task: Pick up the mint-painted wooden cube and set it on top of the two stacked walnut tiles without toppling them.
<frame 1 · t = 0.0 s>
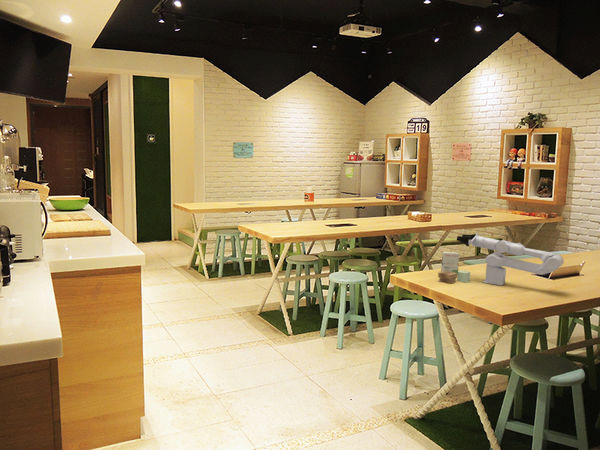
hand: (459, 237, 274), 22 cm above the table, tool horizontal, fingers open, 7 cm apart
bottom tile: (447, 282, 266), on the table, touching top tile
ink box: (449, 273, 285), on the table
top tile: (447, 277, 266), point 2 cm above the table, touching bottom tile
mint block: (463, 281, 268), on the table
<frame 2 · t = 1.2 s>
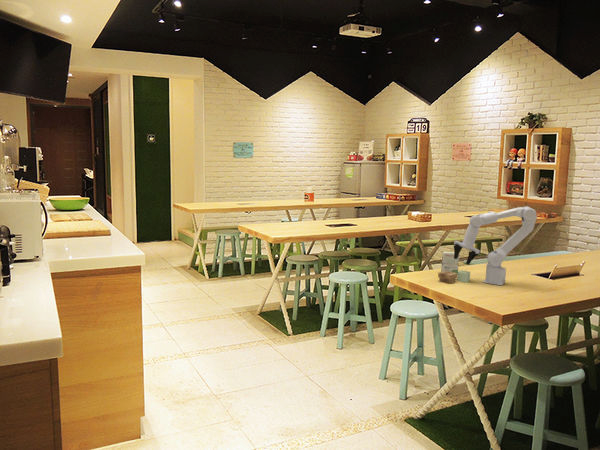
hand: (461, 261, 268), 10 cm above the table, tool pointing down, fingers open, 7 cm apart
nothing on the table moved.
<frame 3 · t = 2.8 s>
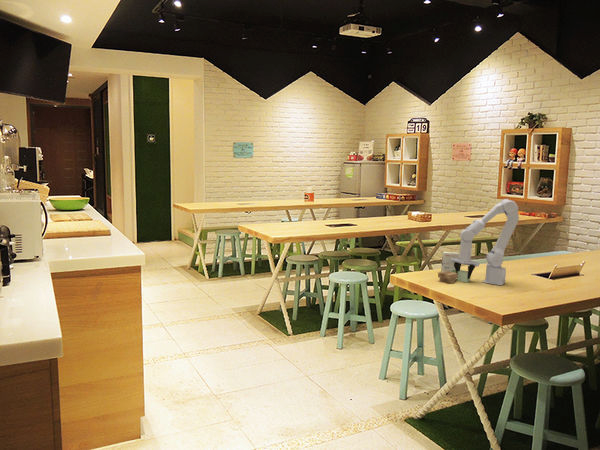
hand: (463, 277, 268), 2 cm above the table, tool pointing down, fingers closed on mint block, 5 cm apart
bottom tile: (447, 282, 266), on the table
top tile: (447, 277, 266), point 2 cm above the table
mint block: (463, 280, 268), on the table, touching gripper
everything else where it was.
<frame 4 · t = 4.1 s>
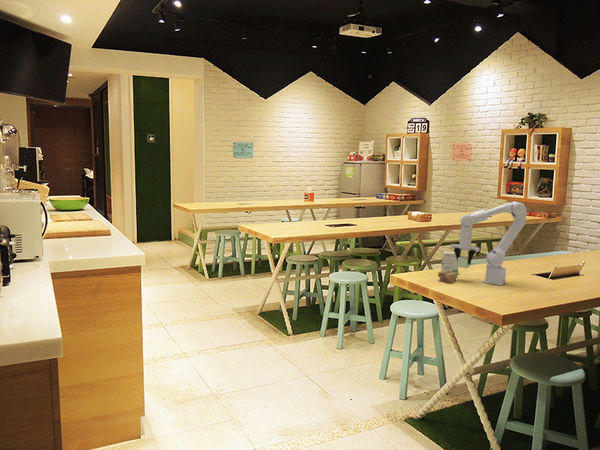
hand: (463, 263, 267), 9 cm above the table, tool pointing down, fingers closed on mint block, 5 cm apart
bottom tile: (447, 282, 266), on the table, touching top tile
top tile: (447, 277, 266), point 2 cm above the table, touching bottom tile
mint block: (463, 266, 267), point 8 cm above the table, touching gripper
everything else where it was.
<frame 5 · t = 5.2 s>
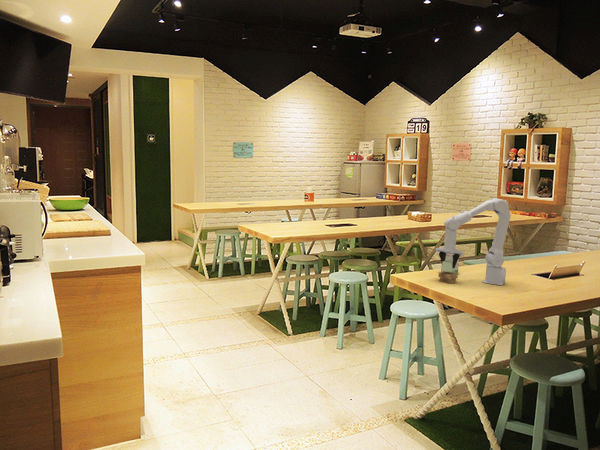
hand: (448, 267, 265), 8 cm above the table, tool pointing down, fingers closed on mint block, 5 cm apart
mint block: (448, 270, 266), point 6 cm above the table, touching gripper
everything else where it was.
when the fingers open (8 cm above the table, at t = 5.5 s): mint block drops 1 cm, resting on top tile.
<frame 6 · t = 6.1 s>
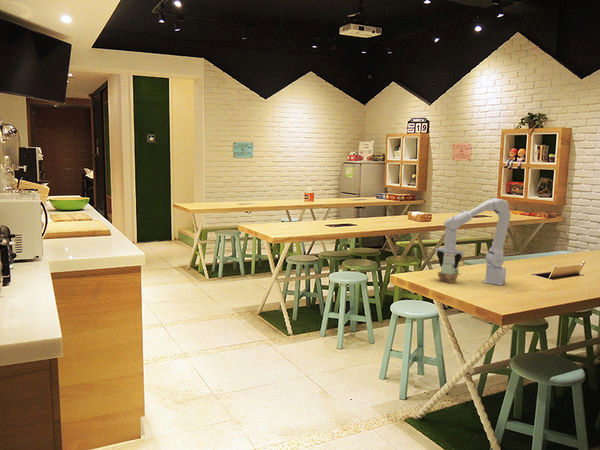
hand: (448, 267, 265), 8 cm above the table, tool pointing down, fingers open, 7 cm apart
top tile: (447, 277, 267), point 2 cm above the table, touching bottom tile, mint block
mint block: (448, 273, 266), point 4 cm above the table, touching top tile
everything else where it was.
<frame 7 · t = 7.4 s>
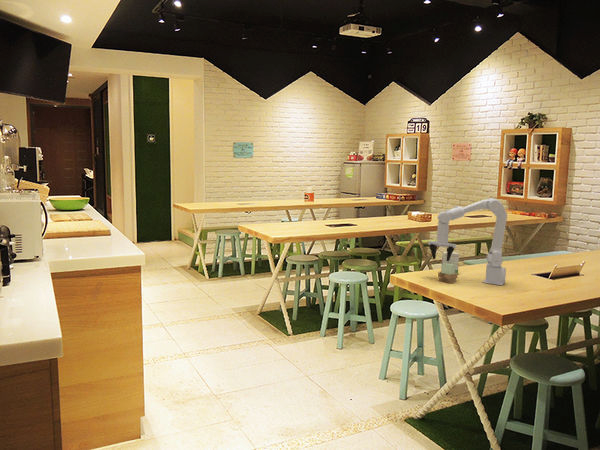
hand: (441, 259, 269), 10 cm above the table, tool pointing down, fingers open, 7 cm apart
nothing on the table moved.
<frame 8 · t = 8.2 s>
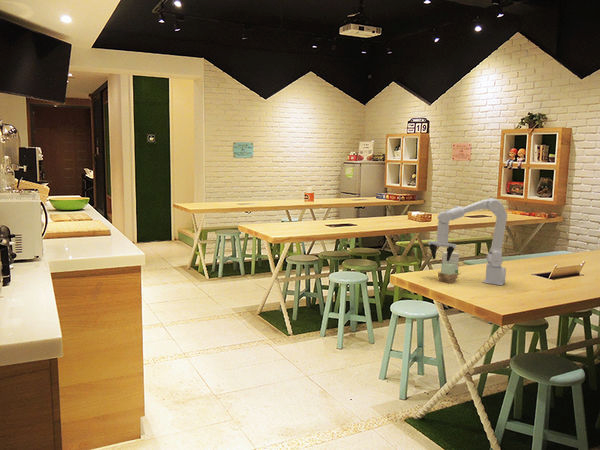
hand: (441, 259, 269), 10 cm above the table, tool pointing down, fingers open, 7 cm apart
nothing on the table moved.
at the end: mint block 0.4 cm off-centre on the top tile, point 2.5 cm above the top tile's base; top tile moved 0.7 cm from its start; mint block tilted 0° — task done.
